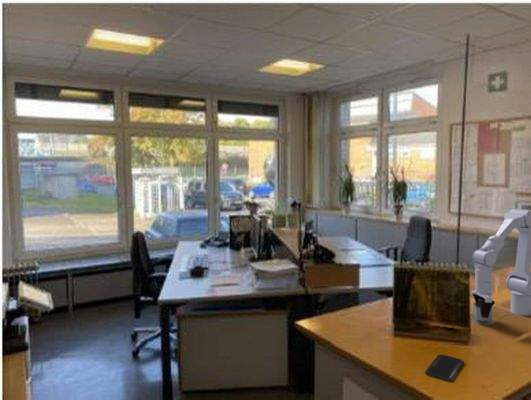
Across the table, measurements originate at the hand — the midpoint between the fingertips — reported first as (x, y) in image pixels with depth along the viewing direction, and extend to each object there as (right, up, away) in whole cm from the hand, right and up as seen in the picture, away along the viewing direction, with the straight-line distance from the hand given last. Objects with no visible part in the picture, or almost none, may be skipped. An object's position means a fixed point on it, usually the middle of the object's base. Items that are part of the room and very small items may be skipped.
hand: (482, 314), depth 161 cm
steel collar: (0, -1, 0) cm, 1 cm away
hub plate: (0, -4, 0) cm, 4 cm away
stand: (+3, -3, +8) cm, 9 cm away
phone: (-30, -8, -33) cm, 45 cm away
